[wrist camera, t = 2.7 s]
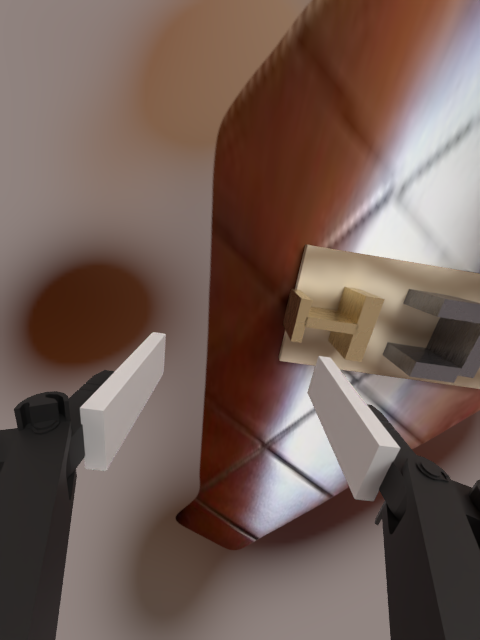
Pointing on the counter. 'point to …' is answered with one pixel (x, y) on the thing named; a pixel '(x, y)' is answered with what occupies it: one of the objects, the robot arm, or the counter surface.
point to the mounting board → (394, 318)
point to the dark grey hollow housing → (442, 339)
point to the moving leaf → (336, 320)
